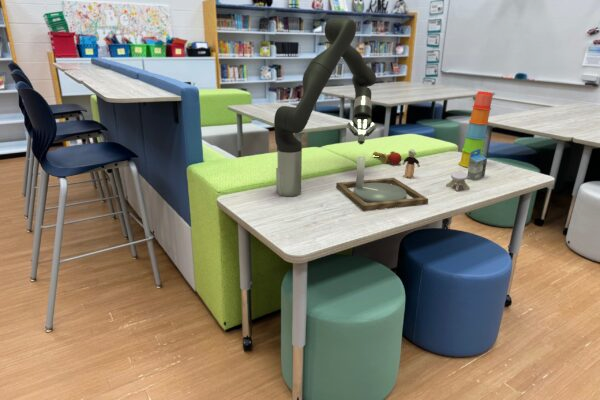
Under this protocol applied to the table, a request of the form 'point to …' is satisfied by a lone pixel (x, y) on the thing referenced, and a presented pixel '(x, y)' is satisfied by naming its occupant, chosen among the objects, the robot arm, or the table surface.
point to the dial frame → (416, 200)
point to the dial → (375, 188)
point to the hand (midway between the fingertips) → (361, 143)
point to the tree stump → (458, 180)
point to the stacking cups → (477, 126)
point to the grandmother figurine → (410, 164)
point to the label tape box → (476, 165)
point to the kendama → (389, 157)
